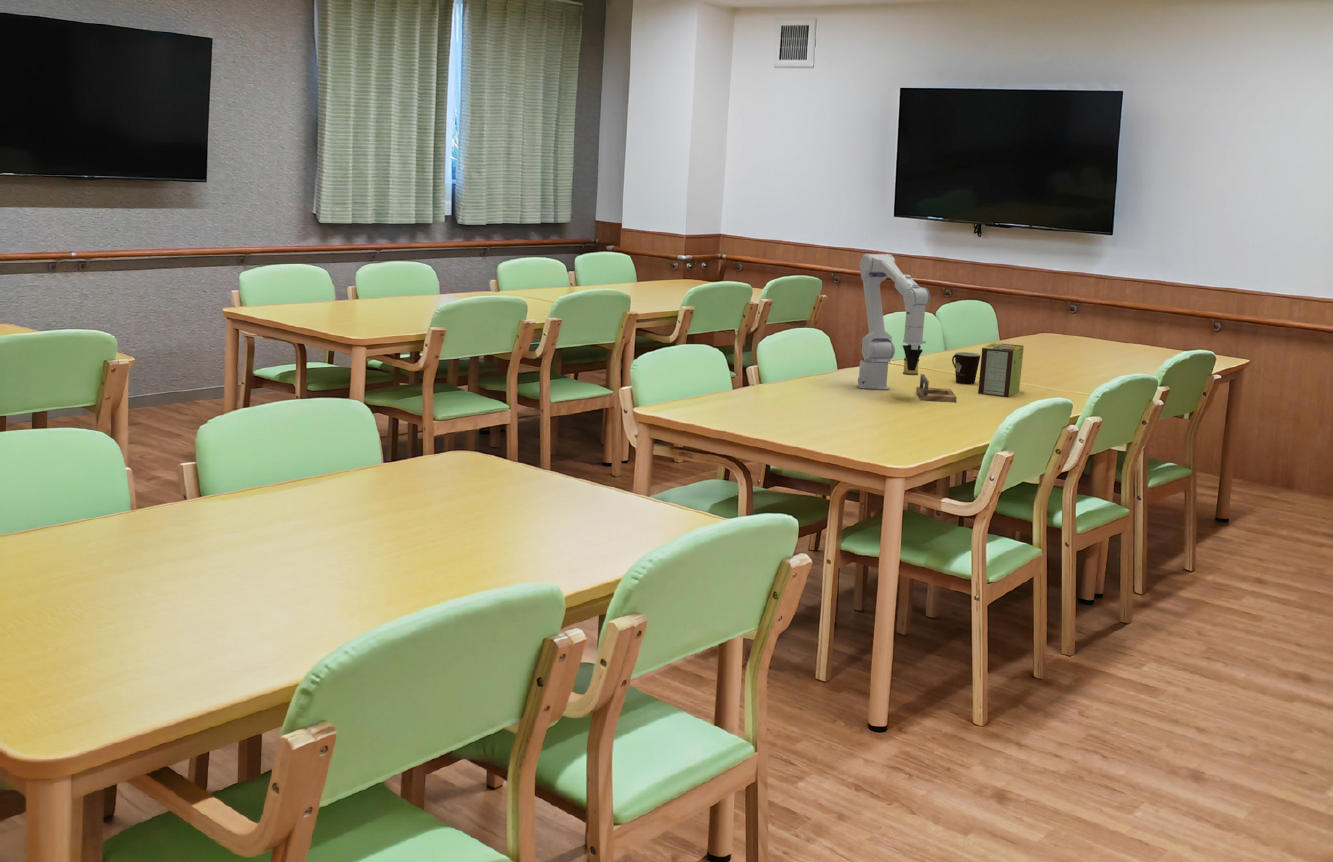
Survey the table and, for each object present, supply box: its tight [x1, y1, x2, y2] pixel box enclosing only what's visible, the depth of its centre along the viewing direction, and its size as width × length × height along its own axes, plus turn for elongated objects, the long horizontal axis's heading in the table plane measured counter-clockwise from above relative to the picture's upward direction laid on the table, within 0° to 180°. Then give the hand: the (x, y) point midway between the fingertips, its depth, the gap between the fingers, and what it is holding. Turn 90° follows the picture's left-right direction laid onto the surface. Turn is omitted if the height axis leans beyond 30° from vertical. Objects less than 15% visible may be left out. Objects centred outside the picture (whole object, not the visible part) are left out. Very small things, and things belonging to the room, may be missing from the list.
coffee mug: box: [951, 351, 982, 385], centre depth 418 cm, size 12×9×10 cm
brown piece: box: [915, 373, 958, 403], centre depth 387 cm, size 11×15×6 cm
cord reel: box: [902, 357, 920, 376], centre depth 381 cm, size 5×5×5 cm
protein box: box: [977, 342, 1025, 398], centre depth 400 cm, size 10×15×16 cm
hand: (910, 369), depth 381 cm, fingers closed on cord reel, 5 cm apart
